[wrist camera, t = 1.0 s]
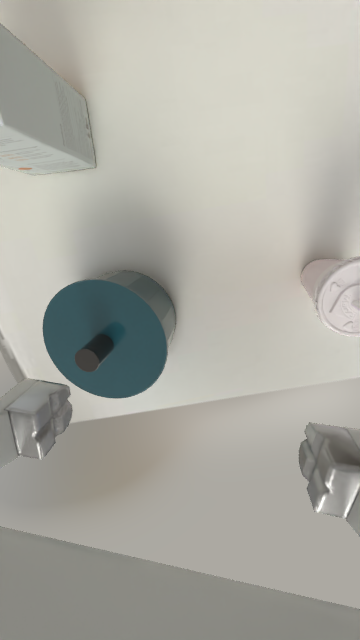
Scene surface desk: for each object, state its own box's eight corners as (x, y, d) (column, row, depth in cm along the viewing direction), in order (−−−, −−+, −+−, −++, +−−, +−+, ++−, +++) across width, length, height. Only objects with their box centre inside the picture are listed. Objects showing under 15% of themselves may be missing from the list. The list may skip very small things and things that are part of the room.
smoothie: (279, 263, 29) (326, 295, 16) (339, 235, 27) (448, 246, 14) (299, 312, 30) (357, 377, 17) (357, 288, 28) (471, 343, 15)
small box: (86, 97, 26) (-31, -11, 14) (97, 168, 28) (5, 127, 16) (17, 109, 27) (-145, 20, 15) (32, 176, 30) (-98, 143, 18)
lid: (195, 330, 26) (189, 351, 21) (129, 411, 31) (114, 442, 26) (81, 249, 25) (50, 254, 20) (32, 347, 30) (-1, 368, 25)
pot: (194, 309, 32) (187, 333, 25) (144, 375, 37) (126, 410, 30) (111, 249, 31) (80, 257, 24) (70, 325, 36) (34, 349, 29)
